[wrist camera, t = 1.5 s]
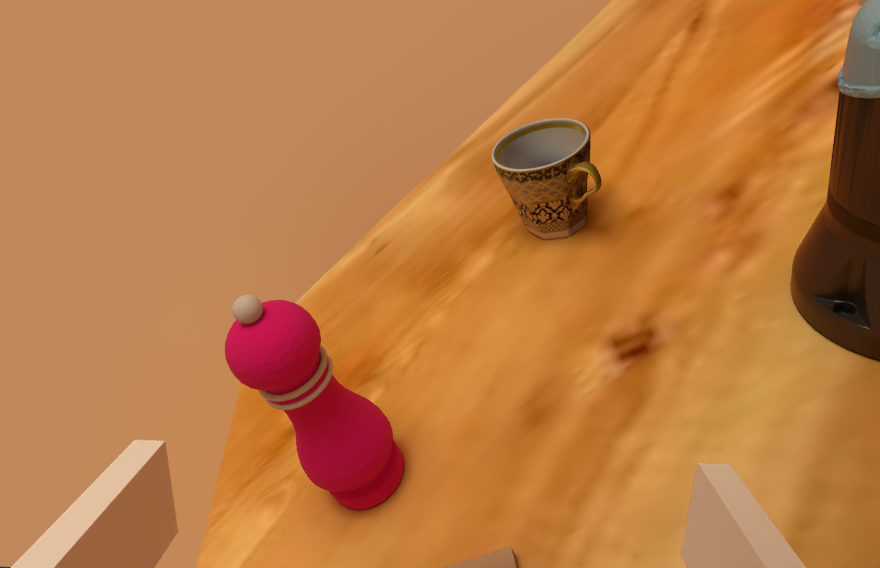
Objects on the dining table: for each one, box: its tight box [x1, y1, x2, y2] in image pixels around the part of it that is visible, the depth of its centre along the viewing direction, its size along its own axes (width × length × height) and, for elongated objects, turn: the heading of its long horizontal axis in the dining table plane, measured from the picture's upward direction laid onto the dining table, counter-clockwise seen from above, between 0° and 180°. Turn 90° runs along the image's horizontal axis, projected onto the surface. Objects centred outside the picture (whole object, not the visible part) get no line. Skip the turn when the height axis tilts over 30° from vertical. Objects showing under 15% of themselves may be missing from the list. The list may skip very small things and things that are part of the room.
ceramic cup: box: [492, 118, 601, 240], centre depth 60 cm, size 13×10×10 cm
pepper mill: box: [225, 295, 404, 510], centre depth 40 cm, size 7×7×20 cm
